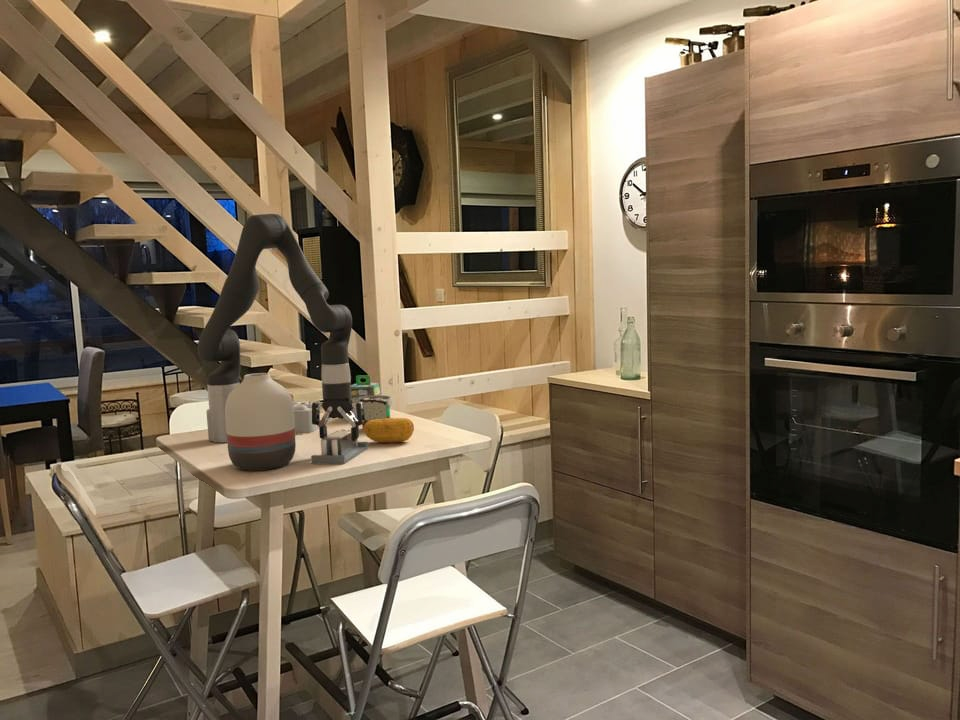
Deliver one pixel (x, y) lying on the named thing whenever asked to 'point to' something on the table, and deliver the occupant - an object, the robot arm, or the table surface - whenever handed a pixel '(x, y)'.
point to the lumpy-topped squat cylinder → (303, 418)
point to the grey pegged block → (335, 457)
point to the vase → (260, 424)
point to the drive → (340, 442)
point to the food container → (376, 407)
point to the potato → (389, 430)
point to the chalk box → (363, 390)
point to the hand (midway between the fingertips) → (339, 440)
